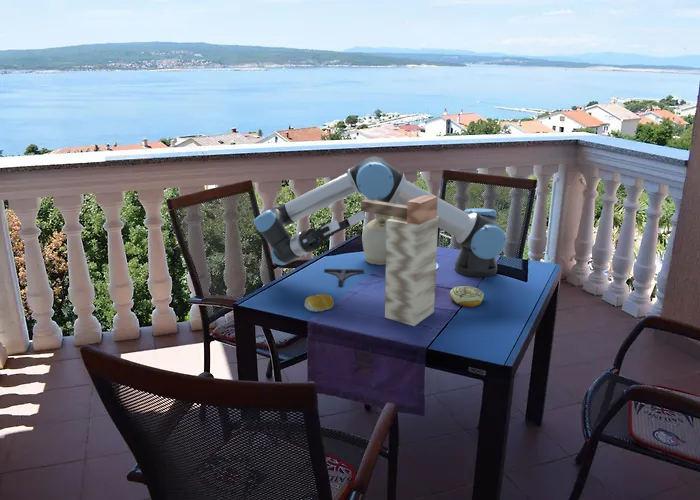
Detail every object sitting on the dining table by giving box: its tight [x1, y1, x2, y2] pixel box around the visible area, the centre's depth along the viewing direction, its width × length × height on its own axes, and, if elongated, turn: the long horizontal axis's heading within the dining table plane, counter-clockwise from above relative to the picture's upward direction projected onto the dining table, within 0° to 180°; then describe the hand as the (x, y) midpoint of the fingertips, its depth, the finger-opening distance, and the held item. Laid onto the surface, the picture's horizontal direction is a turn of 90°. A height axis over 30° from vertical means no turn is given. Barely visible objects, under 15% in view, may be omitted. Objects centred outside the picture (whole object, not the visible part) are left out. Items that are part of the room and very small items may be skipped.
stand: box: [384, 216, 439, 327], centre depth 161 cm, size 10×12×30 cm
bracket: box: [323, 268, 365, 287], centre depth 195 cm, size 14×15×3 cm
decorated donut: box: [449, 285, 485, 308], centre depth 175 cm, size 10×11×4 cm
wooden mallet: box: [360, 195, 439, 225], centre depth 159 cm, size 22×10×6 cm, turn 54°
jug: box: [361, 200, 390, 266], centre depth 210 cm, size 15×16×25 cm
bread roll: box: [304, 293, 335, 313], centre depth 171 cm, size 8×9×4 cm
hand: (351, 219), depth 169 cm, fingers open, 13 cm apart
